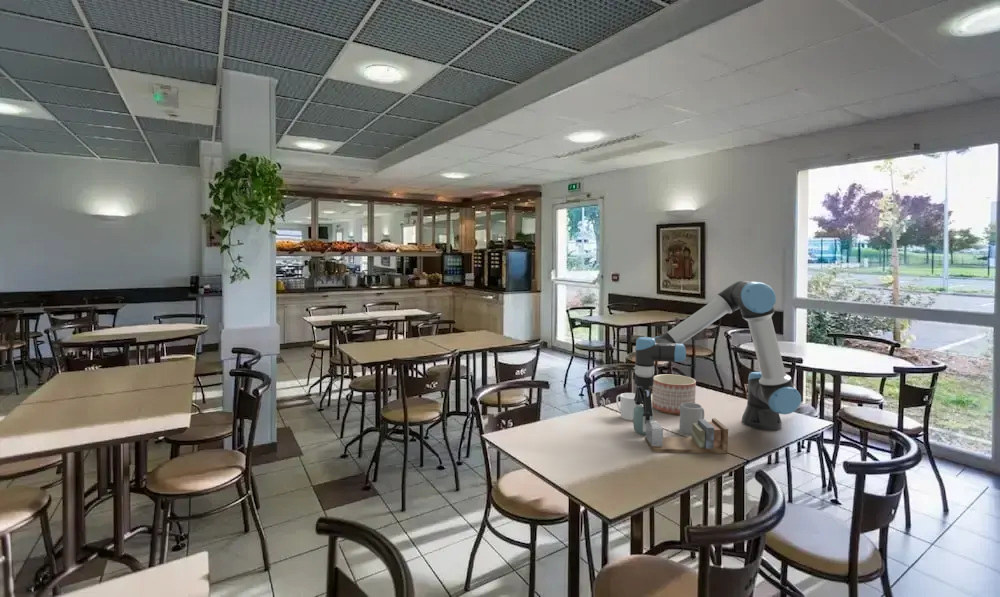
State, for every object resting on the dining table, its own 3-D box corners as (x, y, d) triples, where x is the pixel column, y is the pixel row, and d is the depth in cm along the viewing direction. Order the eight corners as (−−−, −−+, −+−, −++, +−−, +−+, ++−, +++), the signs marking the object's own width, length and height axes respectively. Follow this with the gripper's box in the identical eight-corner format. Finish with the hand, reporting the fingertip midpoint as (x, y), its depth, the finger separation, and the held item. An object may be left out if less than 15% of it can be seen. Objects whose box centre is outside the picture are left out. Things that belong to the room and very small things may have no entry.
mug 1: (642, 416, 223) (643, 394, 222) (636, 422, 215) (637, 399, 214) (619, 412, 229) (619, 391, 228) (612, 418, 221) (613, 395, 220)
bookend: (656, 437, 194) (656, 420, 193) (662, 446, 185) (663, 428, 184) (645, 437, 194) (646, 420, 193) (651, 446, 185) (652, 428, 184)
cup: (649, 437, 198) (650, 413, 197) (630, 434, 202) (631, 410, 201) (654, 431, 204) (655, 408, 203) (636, 428, 208) (636, 405, 207)
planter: (691, 405, 240) (692, 375, 239) (697, 417, 221) (699, 385, 220) (650, 402, 244) (651, 373, 243) (653, 414, 226) (654, 383, 224)
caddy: (714, 440, 194) (715, 418, 194) (727, 453, 182) (728, 429, 182) (644, 439, 196) (645, 417, 195) (652, 452, 184) (653, 428, 183)
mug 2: (691, 436, 199) (692, 409, 198) (674, 429, 207) (675, 404, 206) (711, 431, 205) (712, 405, 204) (694, 424, 213) (695, 400, 212)
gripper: (628, 367, 213) (626, 415, 215) (642, 382, 188) (640, 436, 190) (645, 368, 213) (643, 415, 215) (662, 383, 188) (659, 436, 190)
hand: (642, 425), depth 203 cm, fingers open, 13 cm apart
